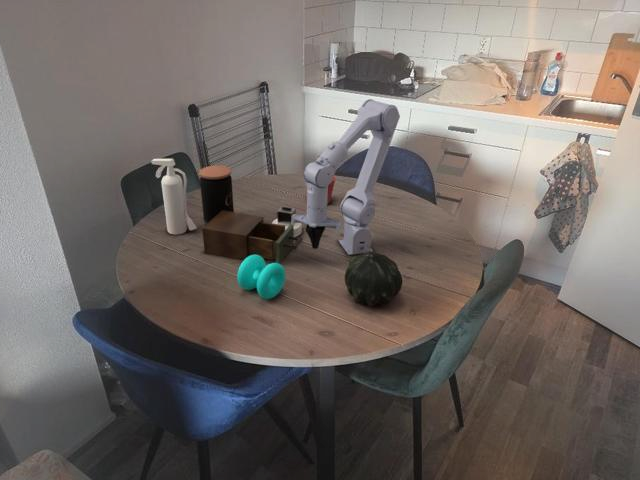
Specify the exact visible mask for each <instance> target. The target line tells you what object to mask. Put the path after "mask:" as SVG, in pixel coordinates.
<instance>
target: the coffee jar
mask: <svg viewBox="0 0 640 480" xmlns="http://www.w3.org/2000/svg"><path fill="white" fill-rule="evenodd" d="M231 174H232V169H231V168H230V167H229V166H226V165H209V166H206V167H202V168H201V169H200V170H199V171H198V175H199V185H200V186H199V187H200V196H201V206H202V212H203V213H202V214H203V216H202V217H203V220H204V222H206V224H207V223H209V222H210V221H211V220H212V219H213V218H214V217H215V216H216V215H218V214H219V213H220V212H221V211H222V210H224V211H230V212H235V211H234V210H235V209H234V193H233V178H232V175H231Z"/></svg>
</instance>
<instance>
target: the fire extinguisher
mask: <svg viewBox="0 0 640 480" xmlns="http://www.w3.org/2000/svg"><path fill="white" fill-rule="evenodd" d="M150 163H151V165H157V166H159V167H158V168H157V170H156V171H155V177H156V178H157V179H159V178H161V176H162V172H163V171H164V168H166V174H165V175H163V176H162V178H161V181H160V183H161V184H160V185H161V191H162V198H163V204H164V214H165V221H166V230H167V232H168V233H169V234H170V235H175V236H176V235H182V234H184V233H186V232H187V230H189V231H194V230H196V229H197V226H196V224H195V223H194V220H192V218H191V217H189V214H188V213H189V212H188V208H187V207H188V206H187V205H188V203H187V185H188V179H187V175H186V173H185V172H184V171H183V170H181V169H180V168H176V167H174V166H176V161H175V159H174V158H153V159H152V160H151V161H150ZM176 172H178V173H180V174H181V175H182V177H183V179H182V177H181V176H180V175H179V174H176Z"/></svg>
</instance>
